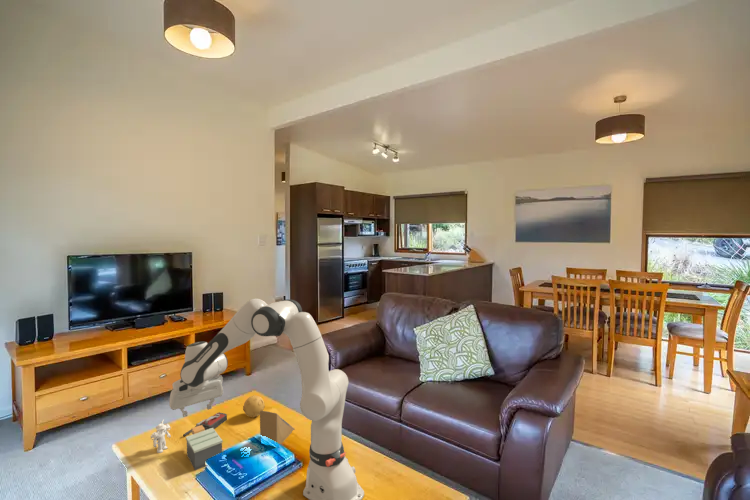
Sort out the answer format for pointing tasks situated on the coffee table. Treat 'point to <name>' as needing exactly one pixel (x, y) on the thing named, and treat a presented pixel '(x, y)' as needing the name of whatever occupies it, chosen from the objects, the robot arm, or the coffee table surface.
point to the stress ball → (253, 406)
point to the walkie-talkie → (211, 422)
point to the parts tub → (202, 455)
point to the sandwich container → (274, 426)
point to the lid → (203, 438)
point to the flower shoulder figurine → (160, 436)
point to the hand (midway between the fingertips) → (197, 412)
